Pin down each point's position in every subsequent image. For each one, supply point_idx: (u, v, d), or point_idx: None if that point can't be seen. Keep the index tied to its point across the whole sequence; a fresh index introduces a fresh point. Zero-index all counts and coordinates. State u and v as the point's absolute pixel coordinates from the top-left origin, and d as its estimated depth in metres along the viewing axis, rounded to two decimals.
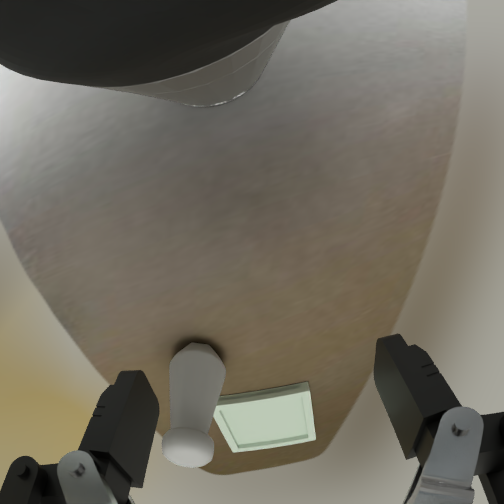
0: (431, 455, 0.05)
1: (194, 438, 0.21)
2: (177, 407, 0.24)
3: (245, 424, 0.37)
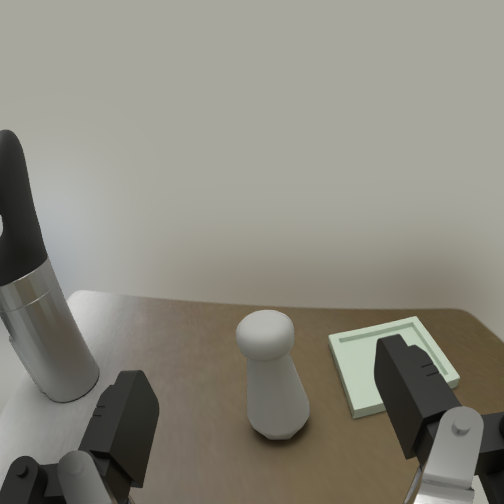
0: (431, 455, 0.05)
1: None
2: (250, 375, 0.24)
3: None
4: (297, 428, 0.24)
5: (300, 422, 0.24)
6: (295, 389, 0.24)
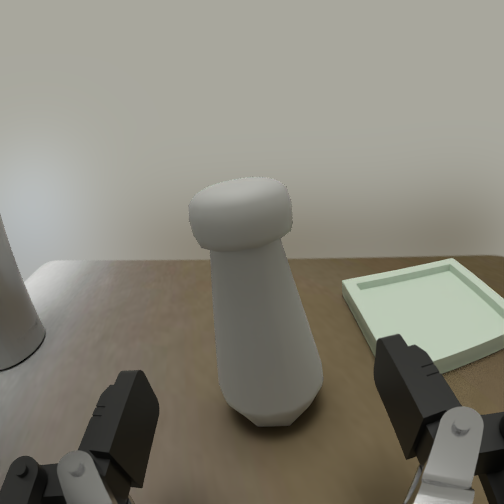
0: (431, 455, 0.05)
1: None
2: (217, 296, 0.14)
3: (446, 329, 0.19)
4: (303, 404, 0.14)
5: (307, 393, 0.14)
6: (298, 326, 0.14)
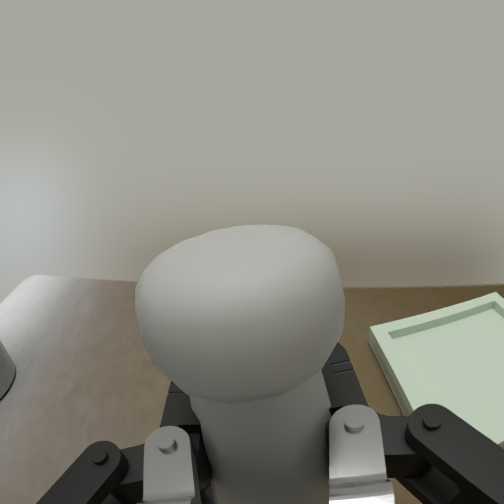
0: (331, 459, 0.05)
1: None
2: (201, 429, 0.07)
3: (498, 396, 0.12)
4: None
5: None
6: None
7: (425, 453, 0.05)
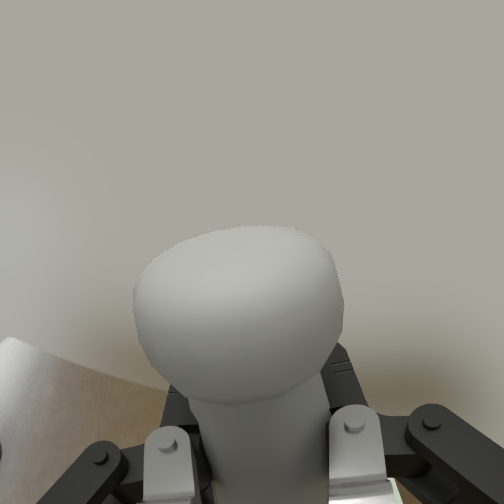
0: (331, 459, 0.05)
1: None
2: (200, 431, 0.07)
3: None
4: None
5: None
6: None
7: (425, 453, 0.05)
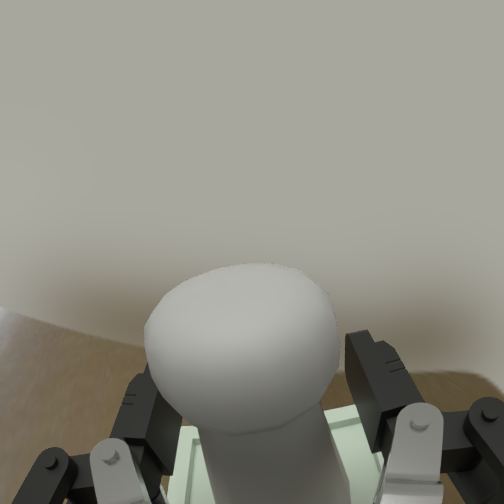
0: (392, 454, 0.05)
1: None
2: (207, 450, 0.08)
3: None
4: None
5: None
6: (328, 479, 0.07)
7: (486, 444, 0.05)
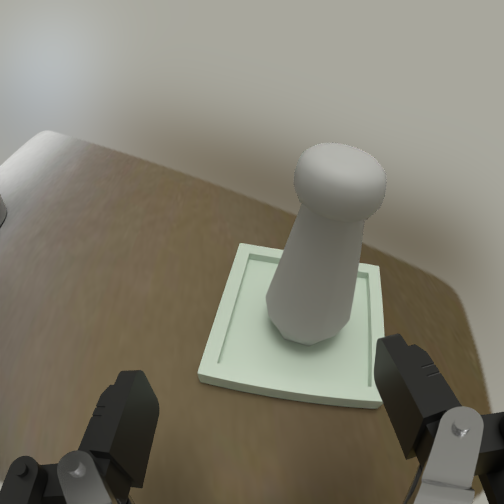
0: (431, 455, 0.05)
1: None
2: (295, 237, 0.16)
3: (294, 352, 0.20)
4: (328, 336, 0.19)
5: (335, 329, 0.18)
6: (350, 280, 0.17)
7: None
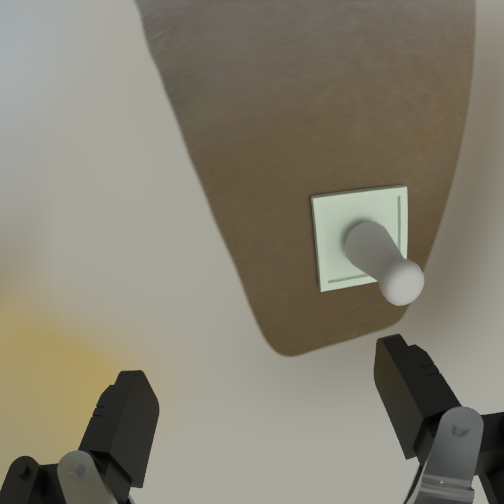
0: (431, 455, 0.05)
1: (415, 263, 0.26)
2: (382, 253, 0.29)
3: (341, 239, 0.37)
4: (349, 260, 0.36)
5: (352, 264, 0.35)
6: None
7: None
